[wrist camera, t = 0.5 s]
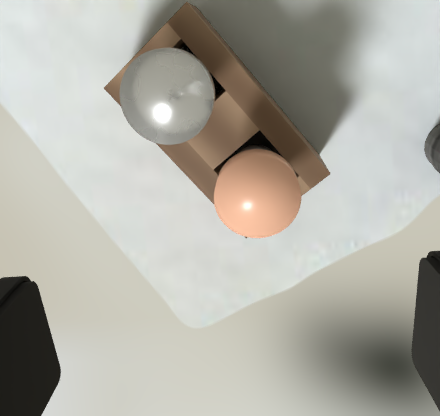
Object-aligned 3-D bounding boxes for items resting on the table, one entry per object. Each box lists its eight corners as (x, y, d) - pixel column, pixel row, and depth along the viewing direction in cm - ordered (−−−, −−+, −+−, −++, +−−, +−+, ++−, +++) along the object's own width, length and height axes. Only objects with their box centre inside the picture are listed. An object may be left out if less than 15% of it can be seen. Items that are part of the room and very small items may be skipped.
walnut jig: (196, 7, 36) (186, 1, 30) (319, 154, 40) (330, 173, 34) (124, 80, 38) (103, 88, 33) (246, 211, 42) (246, 238, 37)
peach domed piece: (260, 117, 34) (262, 137, 27) (305, 171, 36) (319, 203, 29) (206, 164, 36) (195, 194, 29) (251, 213, 38) (252, 253, 31)
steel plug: (184, 28, 32) (166, 26, 25) (235, 89, 34) (232, 102, 27) (131, 82, 34) (100, 94, 27) (182, 138, 35) (165, 162, 29)
